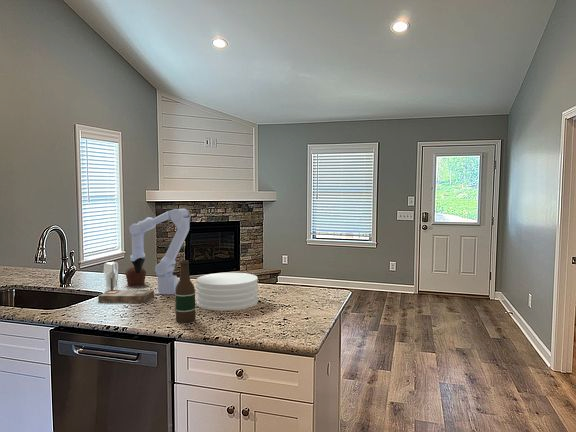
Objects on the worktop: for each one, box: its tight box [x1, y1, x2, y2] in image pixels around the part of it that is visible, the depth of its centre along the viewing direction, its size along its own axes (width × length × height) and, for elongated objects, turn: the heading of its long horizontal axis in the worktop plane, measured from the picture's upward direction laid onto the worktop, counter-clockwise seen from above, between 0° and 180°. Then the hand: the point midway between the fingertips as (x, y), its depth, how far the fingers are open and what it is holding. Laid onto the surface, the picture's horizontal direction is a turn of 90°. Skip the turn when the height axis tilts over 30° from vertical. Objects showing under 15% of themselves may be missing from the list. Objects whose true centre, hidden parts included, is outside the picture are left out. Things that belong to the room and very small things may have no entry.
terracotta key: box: [106, 291, 118, 294], centre depth 209 cm, size 4×4×3 cm
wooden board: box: [97, 289, 155, 304], centre depth 209 cm, size 22×12×3 cm, turn 87°
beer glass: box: [103, 261, 119, 293], centre depth 223 cm, size 7×7×15 cm
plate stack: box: [195, 272, 259, 312], centre depth 202 cm, size 28×28×12 cm
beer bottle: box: [174, 259, 196, 324], centre depth 173 cm, size 8×8×24 cm
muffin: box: [124, 265, 147, 287], centre depth 242 cm, size 12×11×10 cm
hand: (138, 273), depth 226 cm, fingers closed
